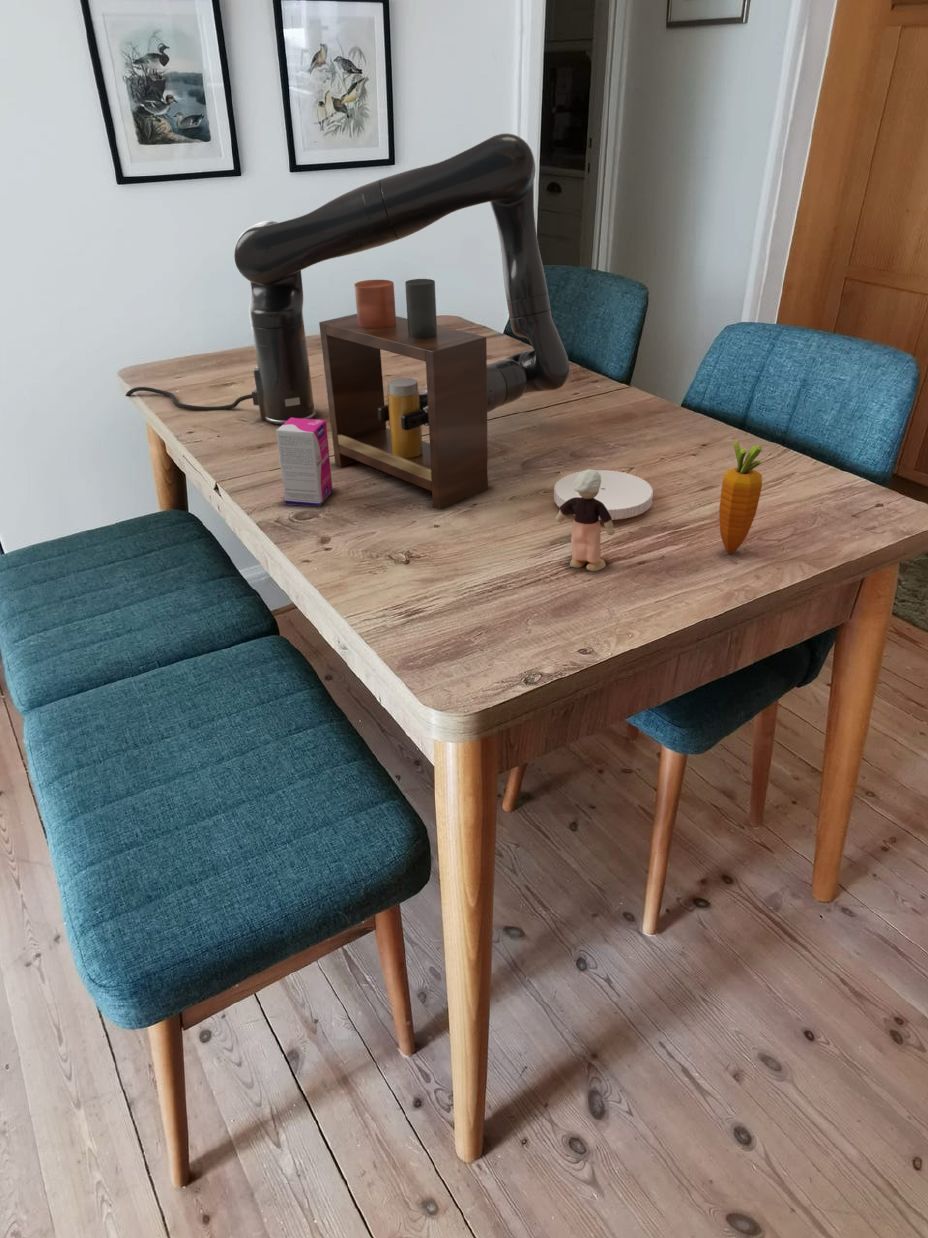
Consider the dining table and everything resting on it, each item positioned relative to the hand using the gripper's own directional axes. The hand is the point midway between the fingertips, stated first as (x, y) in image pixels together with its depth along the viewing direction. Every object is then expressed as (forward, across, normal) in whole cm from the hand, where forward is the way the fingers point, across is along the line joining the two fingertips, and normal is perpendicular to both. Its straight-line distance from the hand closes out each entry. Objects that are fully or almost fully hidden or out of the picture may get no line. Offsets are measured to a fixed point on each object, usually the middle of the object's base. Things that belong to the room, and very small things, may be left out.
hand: (391, 419), depth 124 cm
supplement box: (+13, -5, +10) cm, 17 cm away
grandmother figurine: (+1, +38, +10) cm, 39 cm away
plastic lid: (-15, +29, +10) cm, 34 cm away
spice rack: (-3, 0, +10) cm, 10 cm away
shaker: (-3, 0, +6) cm, 7 cm away
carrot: (-14, +50, +10) cm, 53 cm away
